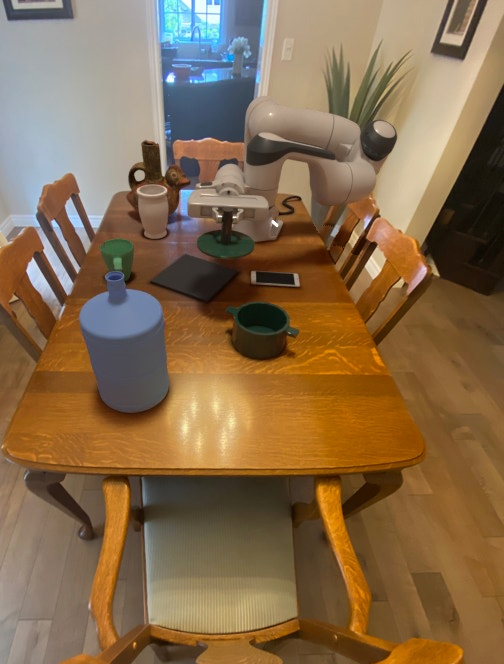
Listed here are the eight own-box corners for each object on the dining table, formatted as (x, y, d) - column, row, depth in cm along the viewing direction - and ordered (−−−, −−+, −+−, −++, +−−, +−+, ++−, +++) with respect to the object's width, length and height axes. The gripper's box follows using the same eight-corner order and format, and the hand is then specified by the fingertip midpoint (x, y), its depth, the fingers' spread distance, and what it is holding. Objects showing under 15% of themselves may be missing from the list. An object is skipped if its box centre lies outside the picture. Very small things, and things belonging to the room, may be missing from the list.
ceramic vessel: (185, 230, 136) (184, 152, 118) (120, 222, 140) (108, 145, 121) (196, 212, 147) (196, 138, 129) (135, 205, 151) (127, 132, 132)
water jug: (159, 419, 77) (146, 307, 56) (89, 409, 79) (50, 296, 58) (176, 369, 87) (170, 258, 66) (113, 360, 89) (88, 249, 68)
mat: (185, 256, 124) (185, 253, 123) (237, 272, 117) (238, 270, 117) (150, 283, 112) (150, 280, 112) (206, 302, 106) (206, 300, 105)
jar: (165, 242, 130) (162, 197, 119) (137, 239, 131) (132, 194, 120) (172, 229, 137) (170, 185, 126) (146, 226, 138) (142, 182, 127)
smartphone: (251, 270, 117) (298, 273, 116) (250, 272, 117) (297, 275, 117) (251, 282, 112) (300, 286, 111) (250, 284, 112) (299, 287, 112)
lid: (214, 229, 99) (216, 192, 92) (263, 243, 94) (269, 205, 88) (185, 251, 91) (185, 212, 84) (238, 267, 86) (241, 228, 79)
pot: (237, 316, 102) (239, 292, 96) (301, 339, 96) (308, 315, 90) (213, 343, 94) (214, 319, 88) (281, 370, 88) (287, 346, 82)
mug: (105, 270, 117) (99, 239, 109) (136, 268, 118) (132, 237, 110) (106, 296, 107) (99, 264, 100) (139, 293, 108) (135, 261, 101)
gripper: (266, 212, 98) (268, 236, 89) (190, 208, 99) (185, 231, 89) (269, 187, 93) (272, 208, 84) (190, 183, 94) (184, 204, 85)
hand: (227, 220), depth 87 cm, fingers closed on lid, 2 cm apart
